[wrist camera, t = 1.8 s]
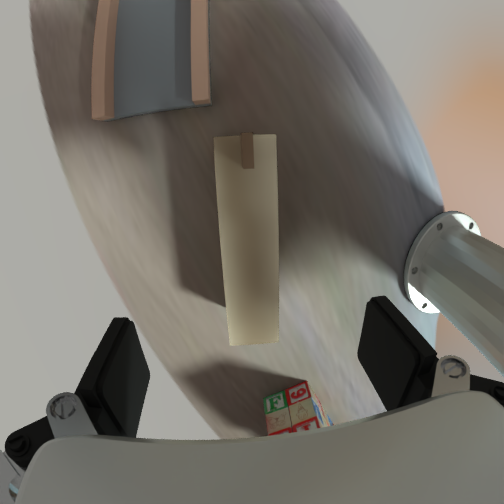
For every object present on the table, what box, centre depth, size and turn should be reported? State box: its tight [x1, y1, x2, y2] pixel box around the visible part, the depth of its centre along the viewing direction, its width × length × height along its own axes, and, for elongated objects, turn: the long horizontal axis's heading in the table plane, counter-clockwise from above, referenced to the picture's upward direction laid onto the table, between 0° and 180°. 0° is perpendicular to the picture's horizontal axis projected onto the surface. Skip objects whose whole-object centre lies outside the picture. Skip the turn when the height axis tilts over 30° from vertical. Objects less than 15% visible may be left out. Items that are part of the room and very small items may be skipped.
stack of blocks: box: [263, 381, 334, 436], centre depth 31 cm, size 21×6×12 cm, turn 27°
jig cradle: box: [91, 0, 212, 122], centre depth 16 cm, size 9×20×3 cm, turn 3°
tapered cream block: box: [213, 132, 279, 346], centre depth 21 cm, size 4×16×9 cm, turn 2°
